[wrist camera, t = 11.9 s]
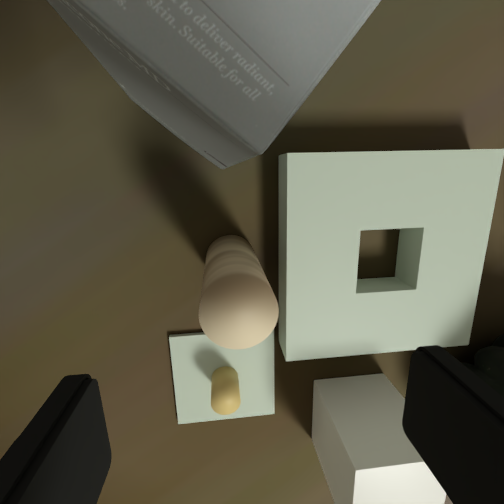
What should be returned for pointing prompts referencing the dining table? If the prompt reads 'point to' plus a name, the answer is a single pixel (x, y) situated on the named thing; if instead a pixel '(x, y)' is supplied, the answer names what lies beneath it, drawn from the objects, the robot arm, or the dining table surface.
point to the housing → (368, 444)
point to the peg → (236, 296)
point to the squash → (490, 365)
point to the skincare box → (217, 61)
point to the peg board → (408, 255)
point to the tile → (209, 358)
